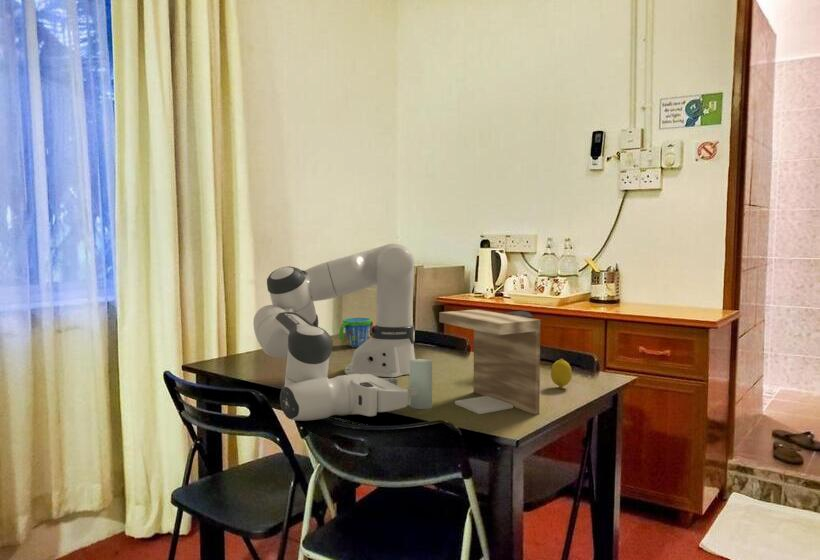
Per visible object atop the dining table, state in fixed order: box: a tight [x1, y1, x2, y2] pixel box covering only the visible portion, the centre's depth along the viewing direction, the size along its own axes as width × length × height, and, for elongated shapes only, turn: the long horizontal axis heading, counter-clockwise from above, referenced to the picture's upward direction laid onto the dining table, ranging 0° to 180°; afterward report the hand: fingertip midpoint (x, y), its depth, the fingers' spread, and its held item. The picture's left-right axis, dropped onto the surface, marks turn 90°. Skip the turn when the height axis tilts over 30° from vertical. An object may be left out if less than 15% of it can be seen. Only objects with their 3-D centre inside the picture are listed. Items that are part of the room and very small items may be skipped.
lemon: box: [550, 358, 573, 389], centre depth 165 cm, size 6×6×8 cm
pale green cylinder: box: [408, 358, 433, 410], centre depth 148 cm, size 6×6×11 cm
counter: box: [438, 308, 541, 416], centre depth 148 cm, size 12×24×22 cm, turn 30°
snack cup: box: [338, 317, 374, 348], centre depth 230 cm, size 16×10×10 cm
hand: (405, 386), depth 146 cm, fingers open, 8 cm apart
